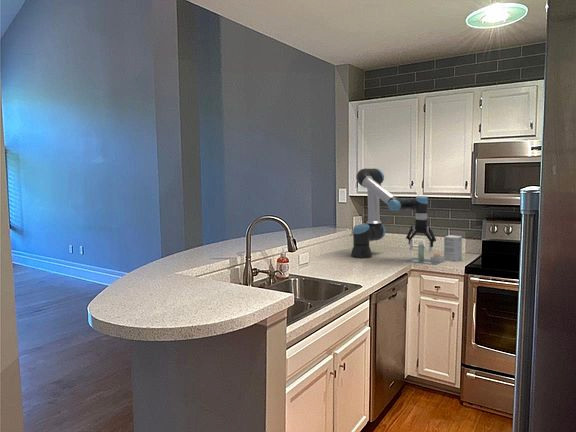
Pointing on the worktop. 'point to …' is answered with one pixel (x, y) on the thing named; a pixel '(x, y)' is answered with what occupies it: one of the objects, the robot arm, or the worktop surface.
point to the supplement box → (453, 248)
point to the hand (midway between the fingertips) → (420, 250)
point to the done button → (436, 254)
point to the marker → (421, 252)
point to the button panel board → (428, 260)
